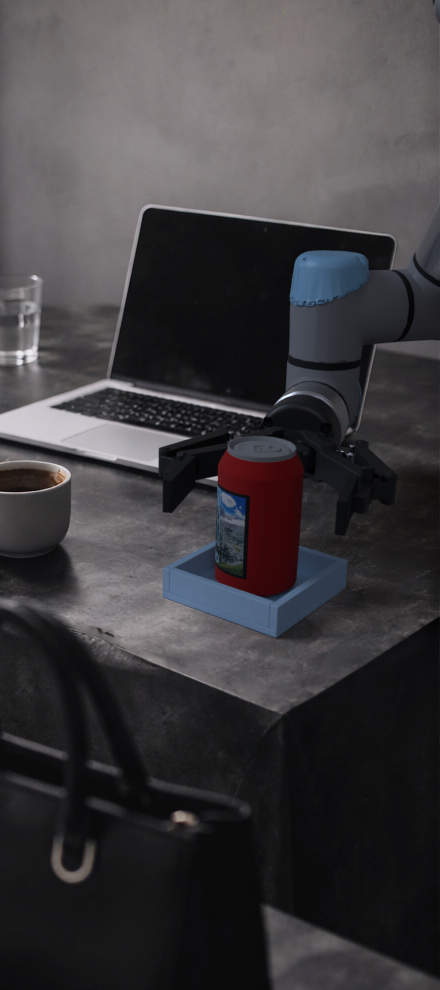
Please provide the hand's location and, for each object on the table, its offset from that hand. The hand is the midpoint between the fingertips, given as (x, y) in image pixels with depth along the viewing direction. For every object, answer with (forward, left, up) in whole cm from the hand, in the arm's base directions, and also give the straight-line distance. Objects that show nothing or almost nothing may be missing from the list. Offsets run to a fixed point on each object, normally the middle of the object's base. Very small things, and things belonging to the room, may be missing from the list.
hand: (252, 507), depth 75 cm
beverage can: (+1, -3, -8) cm, 9 cm away
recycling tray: (+1, -3, -9) cm, 9 cm away
